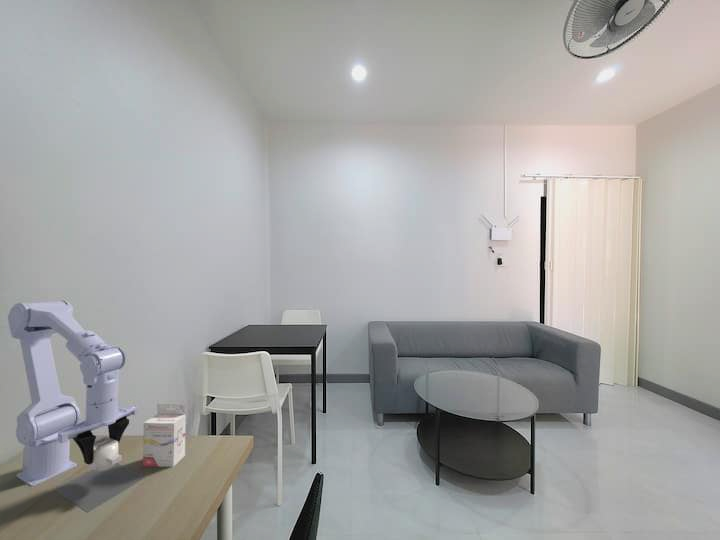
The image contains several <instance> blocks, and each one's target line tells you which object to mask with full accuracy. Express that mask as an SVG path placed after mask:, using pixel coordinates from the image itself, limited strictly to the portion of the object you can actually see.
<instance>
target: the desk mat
mask: <svg viewBox="0 0 720 540" xmlns="http://www.w3.org/2000/svg"><path fill="white" fill-rule="evenodd" d="M146 478H147V476H145V475H143V474H141V473H138V472H137V471H134V470H132V469H131V468H129V467H126V466H123V465H122V464H119V462H118V463H117V464H116V465H115V466H113V467H111V468H109V469H107V470H103V471H95V470H94V469H91V470H89V471H87V472H85V473H83V474H81V475H79V476H76V477H75V478H73V479H71V480H69V481H67V482H64V483H62V484H61V485H59V486H56V487H55V488H52V491H54V492H55V493H57V494H58V495H59V496H62V497H63V498H65V499H66V500H67V501H69V502H71V503H73V505H75V506H77V507H78V508H80V509H81V510H82V511H85V512H86V513H89V512H90V511H92V510H94V509H96V508H97V507H99V506H101V505H103V504H104V503H106V502H107V501H108V502H109V500H111V499H113V498H114V497H116V496H118V495H119V494H121V493H123V492H124V491H126V490H128V489H129V488H131V487H133V486H134V485H136V484H137V483H138V484H139V482H141V481H142V480H144V479H146Z"/></svg>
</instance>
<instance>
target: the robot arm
mask: <svg viewBox="0 0 720 540" xmlns="http://www.w3.org/2000/svg"><path fill="white" fill-rule="evenodd" d="M7 319H8V321H7V322H8V325H9V327H8V328H9V331H10V334H11V338H13V339H17V340H19V342H20V346H21V348H20V349H21V352H22V353H21V354H22V357H23V363H24V368H25V373H26V378H27V384H28V390H29V395H30V399H31V402H30V404H29V405H28V406H27V407H25V409H24V410H23V411H21V412H20V414H19V415H18V416H17V417H16V418H17V419H16V429H15V430H16V431H15V437H16V439H17V441H18V443H20V444H21V445H24V446H23V450H22V471H21V472H18V473H17V474H16V477H17V478H18V479H20V480H21V481H23V482H24V483H26V484H27V485H28V486H30V487H34V486H37V485H38V484H41V483H43V482H45V481H47V480H49V479H52V478H54V477H55V476H57V475H61V474H63V473H64V472H66V471H68V470H70V469H72V468H75V467H77V463H76V462H74V461H72V460H70V450H71V449H70V447H71V446H70V445H71V444H70V443H71V440H72V439H73V441H74V442H75V444H76V445H77V446H78V448H79V450H80V452H81V453H82V457H83V463H84V462H85V463H86V464H88V465H89V464H91V463H93V449H94V443H95V439H96V438H97V435H94V434H93V432H92V431H95V430H96V429H97V430H98V429H100V428H101V427H102V428H103V427H108V438H111V439H113V440H116V441H118V446H119V444H120V442H121V439H122V436H123V434H124V433H125V431H126V429H127V428H128V426H129V425H130V419H129V418H128V417H130V416H132V415H133V416H134V415H135V416H136V415H138V414H139V407H140V406H139V405H136V404H132V405H130V406H126V407H122V408H119V391H120V389H119V386H120V385H119V382H120V379H119V378H120V370H121V369H122V368H124V366H125V364H126V359H127V358H126V354H125V352H124V350H123V349H122V348H121V346H113V345H108V344H107V342H105V341H104V340H103V339H102V338H101V337H100V336H99V335H97V334H96V333H95V332H94V331H93V330H85V329H84V328H83V327H82V326H81V325H80V324H79V322H78V320H76V318H75V317H74V307H73V306H72V304H71V303H70V302H69V301H68V300H63V299H62V300H59V301H57V300H56V301H41V302H39V301H38V302H17V303H15V304H14V305H13V306H12V307H11V308H10V309H9V313H8V316H7ZM57 333H58V334H59V335H60V336H61V337H63V338H64V339H65V340H66V344H65V347H66V349H67V350H68V352H70V353H71V354H72V355H73V356H74V357H75V358H76V359H77V360H78V361H79V362H80V364H79V368H80V372H81V374H82V377H83V380H82V381H83V384H84V385H86V391H85V392H86V394H85V420H83V421H81V422H80V419H81V409H80V408H79V406H78V405H77V403H76V400H75V398H74V397H73V396H69V395H66V394H62V392H61V387H60V383H59V382H60V381H59V379H58V373H57V368H56V362H55V358H54V353H53V348H52V343H51V337H52V335H54V334H57ZM47 410H48V411H47ZM44 411H45V412H44ZM41 412H42V413H41ZM38 413H39V414H38Z"/></svg>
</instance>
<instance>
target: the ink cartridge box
mask: <svg viewBox="0 0 720 540" xmlns="http://www.w3.org/2000/svg"><path fill="white" fill-rule="evenodd" d="M156 405H157V406H156V410H157V414H155V415H154V416H152V417H150V418H149V419H147V420H146V421H144V422H143V439H142V440H143V442H142V467H169V468H170V467H171V468H173V467H175V466H176V465H177V464H178V463H179V462H180V461H181V460H182V459H183V458H184V457H186V419H187V417H186V405H185V404H184V403H159V402H158V403H157V404H156ZM167 408H168V409H167ZM169 408H172V409H169ZM174 408H175V409H174Z"/></svg>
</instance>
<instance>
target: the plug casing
mask: <svg viewBox="0 0 720 540" xmlns="http://www.w3.org/2000/svg"><path fill="white" fill-rule="evenodd" d="M122 460H123V455H121V454H119V445H118V441H116V440H113V439H111V438H109V436H107V435H105V436H104V435H103V436H98V437H97V436H96V439H95V443H94V449H93V463H91V464H89V465H88V464H86V463H85V462H84V461H83V465H84V466H86V467H88V468H90V469H91V470H93V469H94V470H95V471H103V470H107V469H109V468H111V467H113V466H115V465H116V464H117V463H118V464H119V462H121V461H122Z"/></svg>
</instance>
